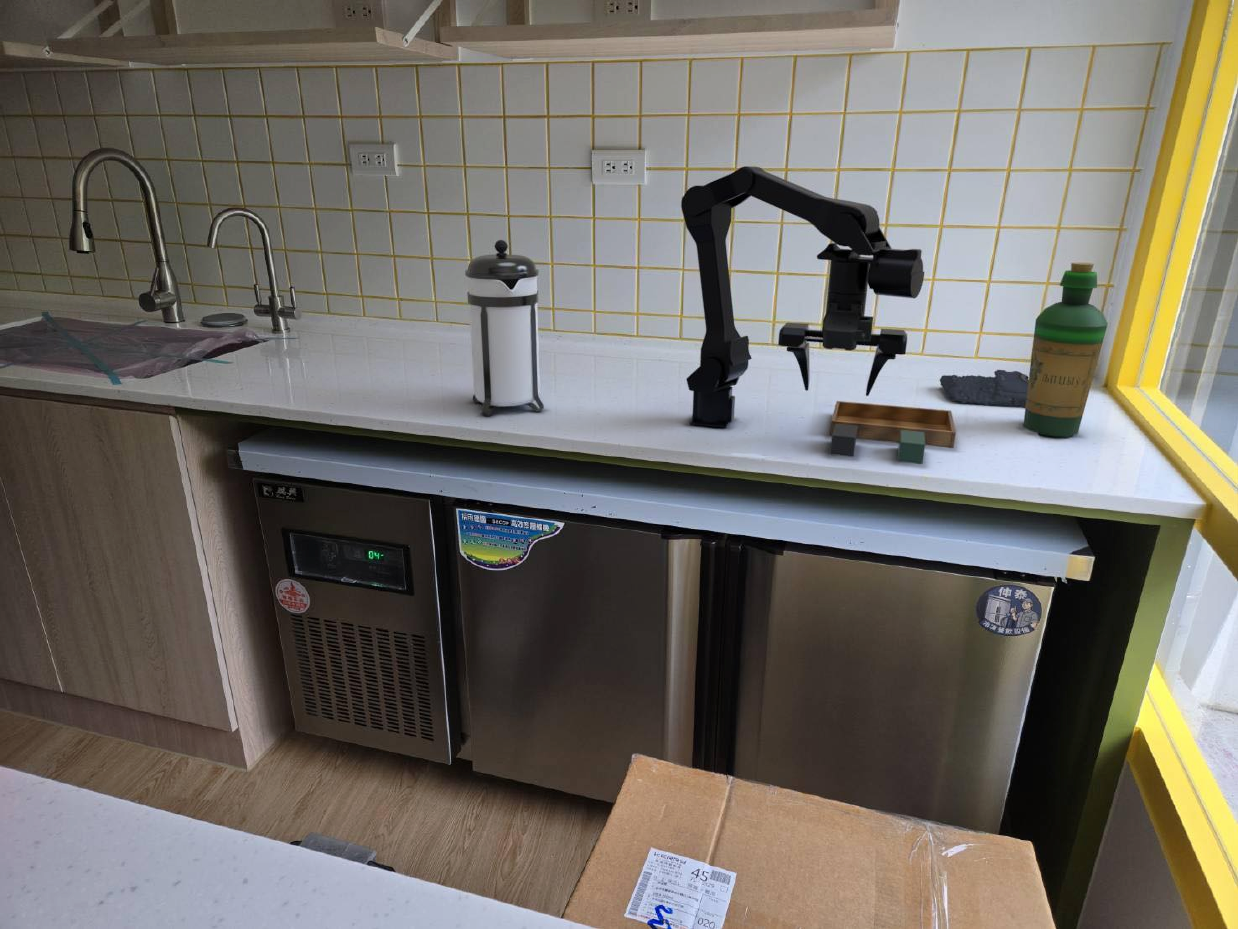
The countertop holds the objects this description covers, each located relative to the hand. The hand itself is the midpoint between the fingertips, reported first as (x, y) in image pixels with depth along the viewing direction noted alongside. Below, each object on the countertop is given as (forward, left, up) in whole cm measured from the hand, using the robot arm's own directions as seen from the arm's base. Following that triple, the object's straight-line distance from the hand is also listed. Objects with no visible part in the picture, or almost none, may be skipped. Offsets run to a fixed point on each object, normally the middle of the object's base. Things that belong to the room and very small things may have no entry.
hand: (836, 392), depth 128 cm
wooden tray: (+9, +11, -9) cm, 17 cm away
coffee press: (-60, +5, -9) cm, 61 cm away
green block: (+12, -2, -9) cm, 15 cm away
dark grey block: (+2, -2, -9) cm, 9 cm away
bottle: (+35, +21, -9) cm, 42 cm away
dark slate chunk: (+29, +43, -9) cm, 53 cm away
